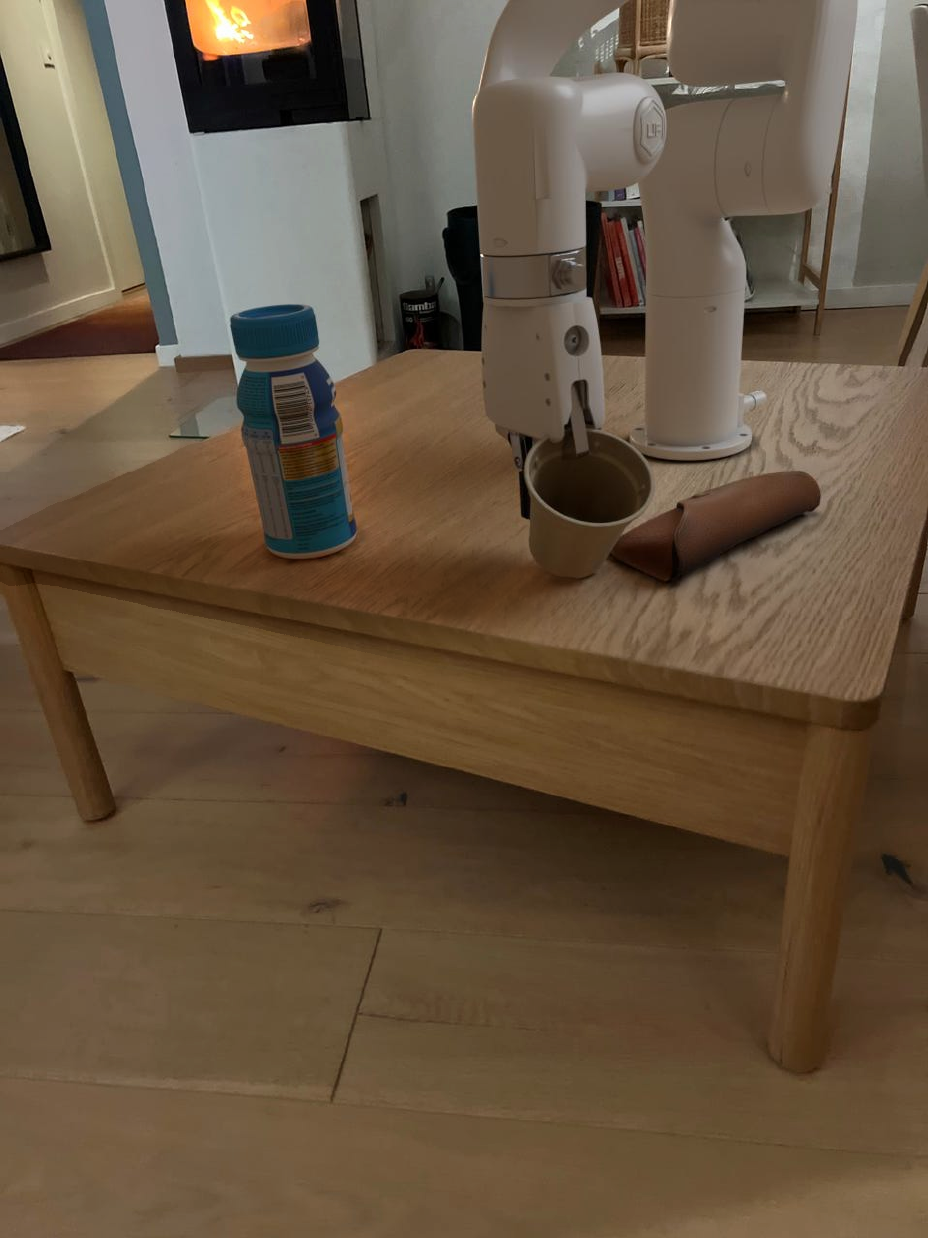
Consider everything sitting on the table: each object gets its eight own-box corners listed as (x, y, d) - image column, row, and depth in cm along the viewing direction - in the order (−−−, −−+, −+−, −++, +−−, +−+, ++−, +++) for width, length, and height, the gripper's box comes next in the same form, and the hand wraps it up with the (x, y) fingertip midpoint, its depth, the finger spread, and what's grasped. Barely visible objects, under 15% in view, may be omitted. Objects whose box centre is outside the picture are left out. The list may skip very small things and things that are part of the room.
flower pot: (604, 616, 68) (633, 544, 61) (489, 569, 70) (504, 494, 62) (640, 530, 73) (670, 455, 66) (532, 488, 75) (551, 410, 68)
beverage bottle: (247, 558, 79) (195, 322, 70) (295, 521, 86) (255, 302, 76) (331, 566, 76) (290, 320, 67) (375, 527, 83) (343, 299, 73)
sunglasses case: (737, 487, 82) (774, 433, 77) (791, 541, 80) (834, 489, 74) (597, 550, 73) (629, 493, 68) (654, 614, 70) (691, 559, 65)
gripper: (644, 277, 61) (640, 530, 69) (516, 265, 73) (526, 483, 81) (555, 293, 58) (562, 556, 66) (436, 277, 69) (455, 504, 78)
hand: (542, 515), depth 74 cm, fingers closed
